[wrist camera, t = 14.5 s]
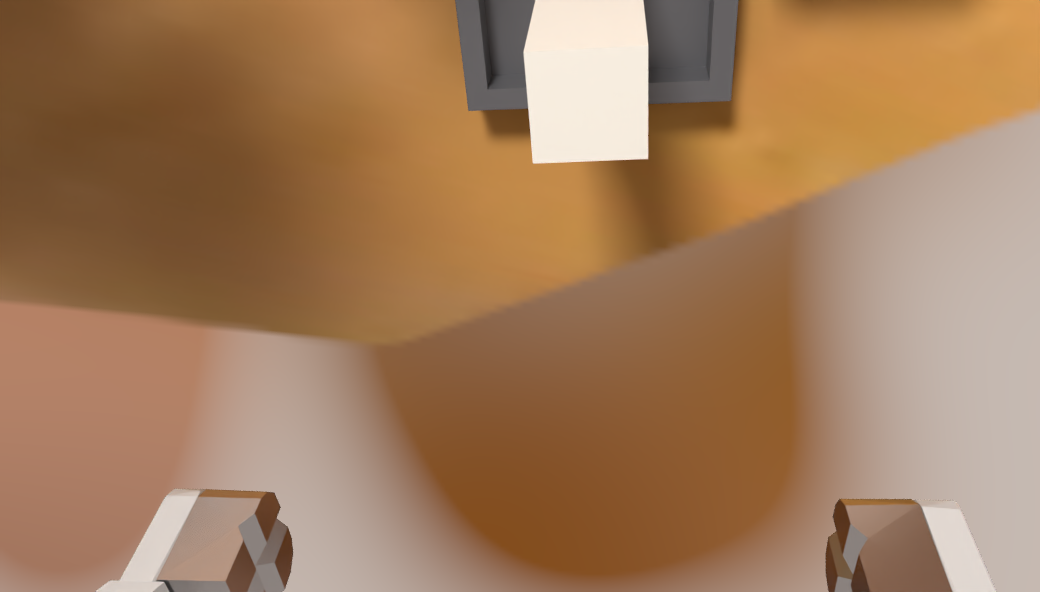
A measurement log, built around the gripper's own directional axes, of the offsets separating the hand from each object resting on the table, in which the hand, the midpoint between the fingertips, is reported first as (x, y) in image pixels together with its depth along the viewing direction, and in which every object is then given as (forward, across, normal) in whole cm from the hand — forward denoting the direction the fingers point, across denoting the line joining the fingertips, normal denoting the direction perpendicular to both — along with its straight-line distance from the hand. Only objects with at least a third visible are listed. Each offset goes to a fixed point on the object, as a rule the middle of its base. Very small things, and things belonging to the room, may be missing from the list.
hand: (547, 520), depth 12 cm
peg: (+30, 0, 0) cm, 30 cm away
